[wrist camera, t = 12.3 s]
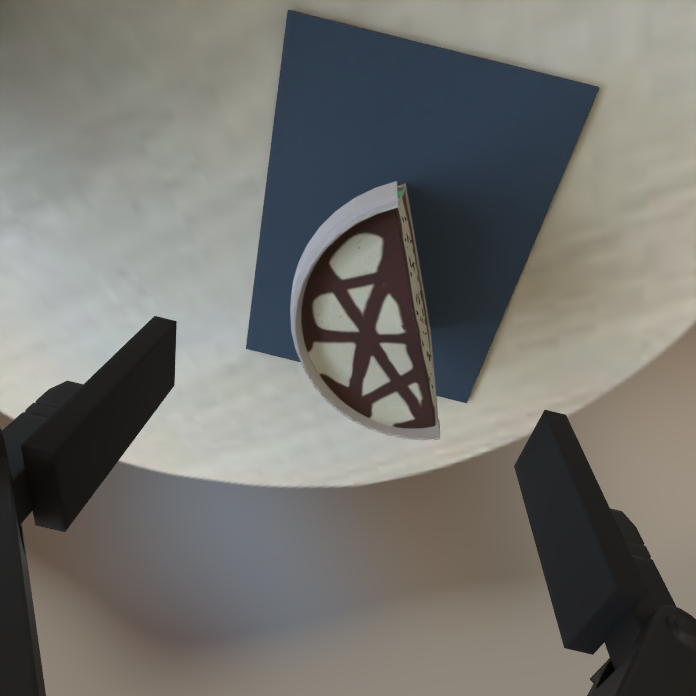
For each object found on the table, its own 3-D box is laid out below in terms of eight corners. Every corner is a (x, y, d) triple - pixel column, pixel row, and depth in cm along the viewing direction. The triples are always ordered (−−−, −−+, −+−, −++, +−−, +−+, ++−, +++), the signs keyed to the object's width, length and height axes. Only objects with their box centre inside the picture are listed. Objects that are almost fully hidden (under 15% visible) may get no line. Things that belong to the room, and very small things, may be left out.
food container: (295, 179, 28) (242, 223, 19) (401, 155, 26) (395, 190, 18) (344, 361, 33) (320, 460, 25) (433, 348, 32) (441, 448, 23)
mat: (247, 346, 34) (245, 348, 34) (289, 10, 24) (287, 9, 24) (465, 400, 34) (466, 403, 34) (597, 87, 24) (600, 87, 24)
